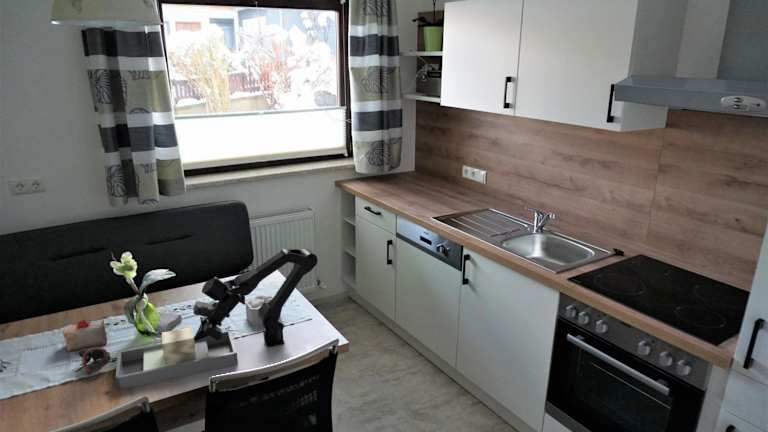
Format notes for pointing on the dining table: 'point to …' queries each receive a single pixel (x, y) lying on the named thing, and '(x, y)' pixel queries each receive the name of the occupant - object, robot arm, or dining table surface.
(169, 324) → the stone block
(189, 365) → the grey shallow rectangular tray
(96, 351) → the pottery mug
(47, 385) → the dining table surface
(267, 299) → the lumpy-topped squat cylinder
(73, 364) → the dining table surface
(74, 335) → the food item
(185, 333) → the birch block
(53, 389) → the dining table surface
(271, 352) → the dining table surface
